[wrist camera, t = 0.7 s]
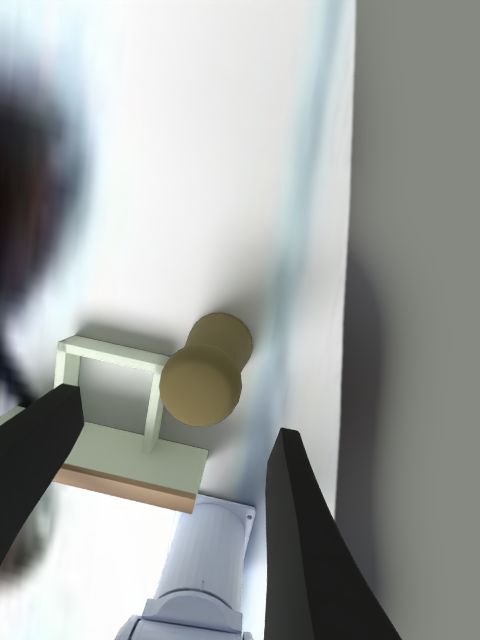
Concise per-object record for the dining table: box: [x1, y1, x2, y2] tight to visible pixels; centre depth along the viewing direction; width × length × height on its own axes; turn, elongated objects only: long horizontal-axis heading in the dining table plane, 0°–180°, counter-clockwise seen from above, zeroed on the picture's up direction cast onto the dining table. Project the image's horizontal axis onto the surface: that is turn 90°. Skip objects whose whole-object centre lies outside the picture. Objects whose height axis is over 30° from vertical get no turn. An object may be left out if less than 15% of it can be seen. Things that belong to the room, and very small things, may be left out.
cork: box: [159, 313, 252, 427], centre depth 23 cm, size 6×6×11 cm
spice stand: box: [0, 335, 209, 514], centre depth 27 cm, size 10×20×7 cm, turn 78°
